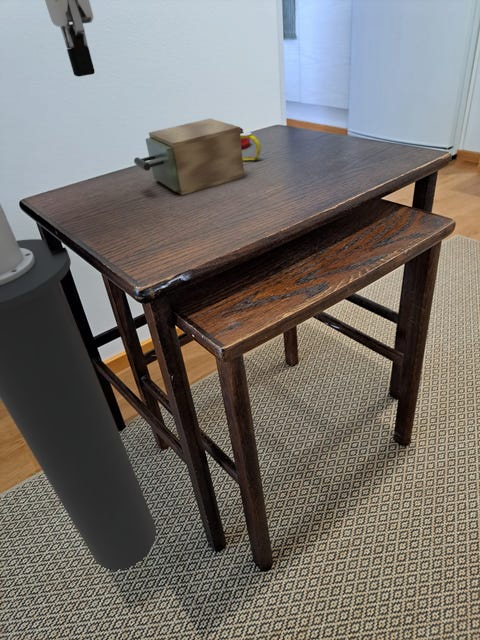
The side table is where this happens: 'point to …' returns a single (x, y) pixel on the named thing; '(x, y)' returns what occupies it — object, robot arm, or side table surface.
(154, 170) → the drawer
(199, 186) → the cabinet
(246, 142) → the tracker holder
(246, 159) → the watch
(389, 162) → the side table surface
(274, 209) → the side table surface
